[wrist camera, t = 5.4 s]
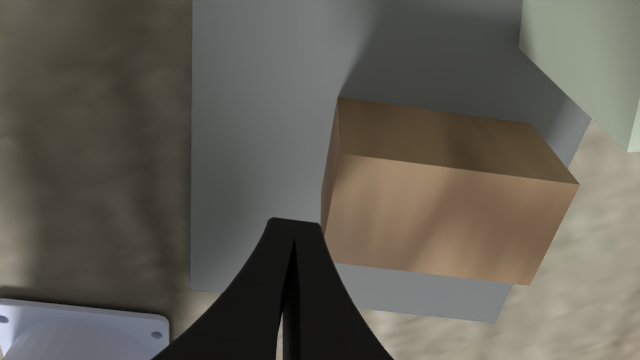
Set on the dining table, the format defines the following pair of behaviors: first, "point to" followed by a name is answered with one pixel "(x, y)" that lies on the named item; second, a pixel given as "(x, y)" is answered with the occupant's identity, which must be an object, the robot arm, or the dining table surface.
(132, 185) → the dining table surface
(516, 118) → the mat
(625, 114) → the sage block
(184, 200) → the dining table surface
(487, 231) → the walnut block
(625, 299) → the dining table surface
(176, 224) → the dining table surface
